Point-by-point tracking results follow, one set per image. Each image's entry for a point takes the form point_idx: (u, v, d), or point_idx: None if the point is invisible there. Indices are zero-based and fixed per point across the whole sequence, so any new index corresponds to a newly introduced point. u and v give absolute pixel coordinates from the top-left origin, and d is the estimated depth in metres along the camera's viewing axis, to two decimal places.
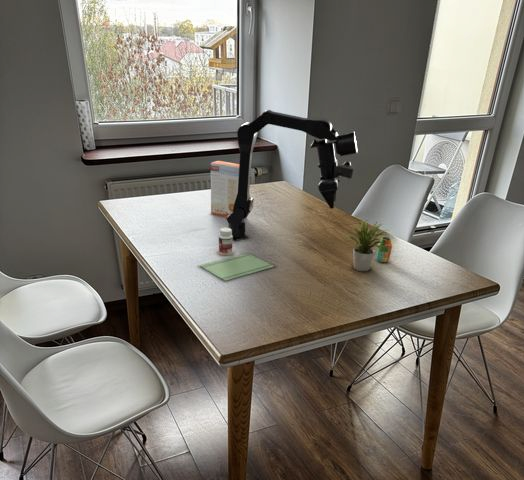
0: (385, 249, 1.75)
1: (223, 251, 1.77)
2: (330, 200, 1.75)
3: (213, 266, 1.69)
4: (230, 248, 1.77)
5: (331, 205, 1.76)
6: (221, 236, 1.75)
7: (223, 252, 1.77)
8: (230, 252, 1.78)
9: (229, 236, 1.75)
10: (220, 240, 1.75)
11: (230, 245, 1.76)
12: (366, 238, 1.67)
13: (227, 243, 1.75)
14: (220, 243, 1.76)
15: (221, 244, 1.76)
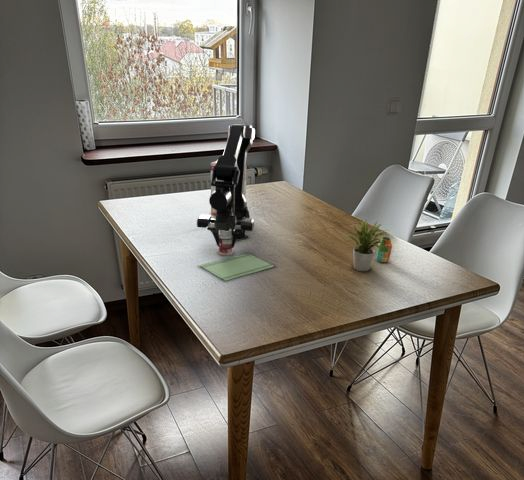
0: (385, 249, 1.75)
1: (223, 251, 1.77)
2: None
3: (213, 266, 1.69)
4: (230, 248, 1.77)
5: None
6: (221, 236, 1.75)
7: (223, 252, 1.77)
8: (230, 252, 1.78)
9: (229, 236, 1.75)
10: (220, 240, 1.75)
11: (230, 245, 1.76)
12: (366, 238, 1.67)
13: (227, 243, 1.75)
14: (220, 243, 1.76)
15: (221, 244, 1.76)
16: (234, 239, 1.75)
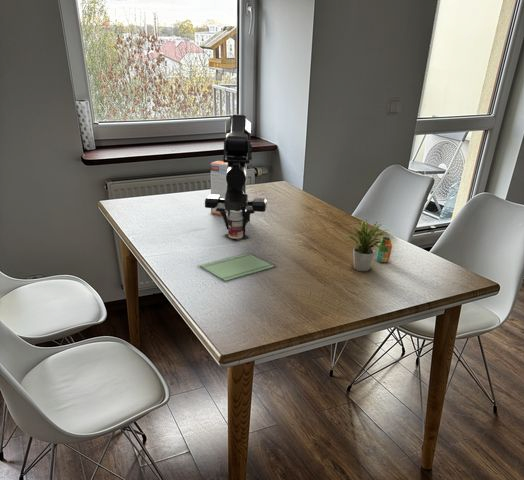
0: (385, 249, 1.75)
1: (233, 234, 1.63)
2: None
3: (213, 266, 1.69)
4: (240, 231, 1.64)
5: None
6: (231, 218, 1.61)
7: (233, 235, 1.64)
8: (240, 235, 1.64)
9: (240, 218, 1.62)
10: (230, 222, 1.62)
11: (240, 227, 1.63)
12: (366, 238, 1.67)
13: (237, 226, 1.62)
14: (230, 225, 1.63)
15: (231, 226, 1.62)
16: (245, 221, 1.62)
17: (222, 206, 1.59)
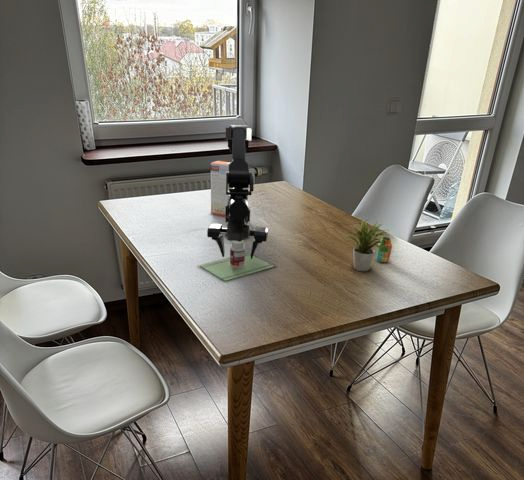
0: (385, 249, 1.75)
1: (234, 263, 1.67)
2: None
3: (213, 266, 1.69)
4: (242, 261, 1.67)
5: None
6: (233, 248, 1.65)
7: (234, 265, 1.67)
8: (242, 265, 1.68)
9: (241, 248, 1.65)
10: (232, 252, 1.65)
11: (242, 258, 1.66)
12: (366, 238, 1.67)
13: (239, 256, 1.65)
14: (232, 255, 1.66)
15: (233, 256, 1.66)
16: (253, 250, 1.65)
17: None
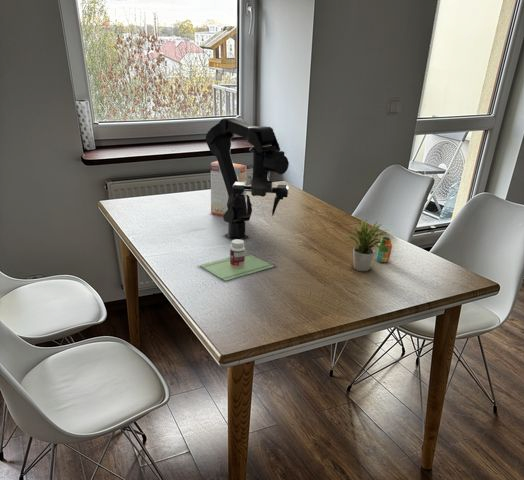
0: (385, 249, 1.75)
1: (234, 263, 1.67)
2: None
3: (213, 266, 1.69)
4: (242, 261, 1.67)
5: None
6: (233, 248, 1.65)
7: (234, 265, 1.67)
8: (242, 265, 1.68)
9: (241, 248, 1.65)
10: (232, 252, 1.65)
11: (242, 258, 1.66)
12: (366, 238, 1.67)
13: (239, 256, 1.65)
14: (232, 255, 1.66)
15: (233, 256, 1.66)
16: (274, 206, 1.76)
17: None
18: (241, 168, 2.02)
